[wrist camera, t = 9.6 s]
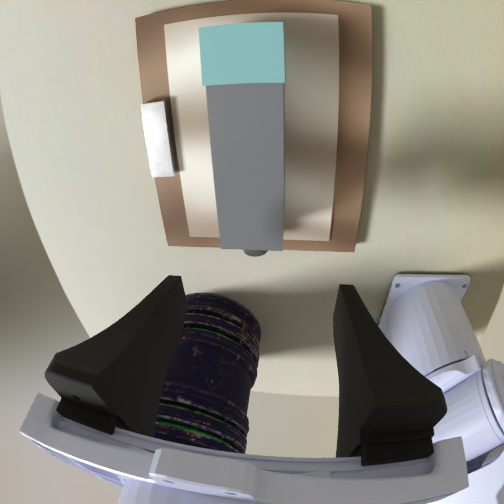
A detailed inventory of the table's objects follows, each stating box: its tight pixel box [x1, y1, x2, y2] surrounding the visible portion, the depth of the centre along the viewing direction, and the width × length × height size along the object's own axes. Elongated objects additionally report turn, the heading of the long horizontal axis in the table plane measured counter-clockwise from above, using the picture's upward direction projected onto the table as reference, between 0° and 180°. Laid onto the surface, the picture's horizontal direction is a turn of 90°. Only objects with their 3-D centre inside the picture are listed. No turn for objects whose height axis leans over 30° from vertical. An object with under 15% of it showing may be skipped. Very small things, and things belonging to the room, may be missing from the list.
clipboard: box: [135, 0, 372, 252], centre depth 18 cm, size 17×14×2 cm
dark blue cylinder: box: [154, 293, 261, 454], centre depth 24 cm, size 10×10×15 cm
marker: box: [199, 22, 286, 256], centre depth 16 cm, size 14×4×4 cm, turn 2°
